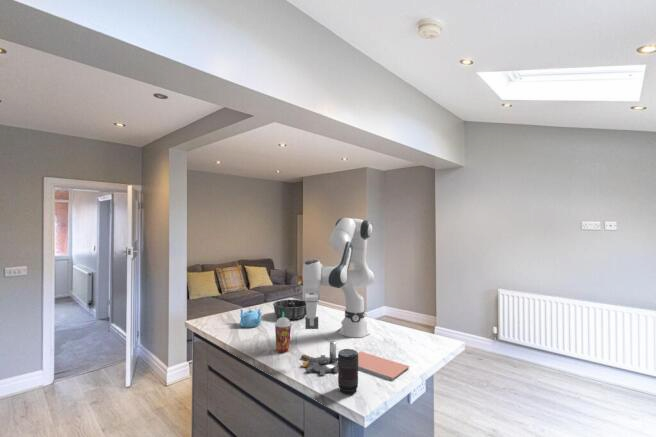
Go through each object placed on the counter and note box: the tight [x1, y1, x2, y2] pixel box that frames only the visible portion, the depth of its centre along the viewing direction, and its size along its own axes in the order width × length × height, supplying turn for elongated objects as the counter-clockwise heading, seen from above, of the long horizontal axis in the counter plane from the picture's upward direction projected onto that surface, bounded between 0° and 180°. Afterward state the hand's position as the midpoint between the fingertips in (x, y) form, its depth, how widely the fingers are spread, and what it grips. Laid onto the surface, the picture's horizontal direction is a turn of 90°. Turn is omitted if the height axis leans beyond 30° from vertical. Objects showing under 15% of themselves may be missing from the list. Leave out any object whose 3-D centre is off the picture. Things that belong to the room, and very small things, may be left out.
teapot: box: [239, 307, 263, 329], centre depth 212 cm, size 15×15×10 cm
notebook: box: [357, 351, 410, 382], centre depth 152 cm, size 27×17×2 cm, turn 50°
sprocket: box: [302, 340, 339, 376], centre depth 151 cm, size 18×18×10 cm
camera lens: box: [337, 348, 359, 396], centre depth 129 cm, size 8×8×15 cm
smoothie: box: [274, 312, 292, 354], centre depth 169 cm, size 8×8×20 cm
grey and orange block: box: [304, 316, 319, 330], centre depth 153 cm, size 3×6×5 cm, turn 91°
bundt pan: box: [272, 299, 307, 321], centre depth 234 cm, size 26×26×10 cm
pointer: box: [300, 353, 311, 362], centre depth 159 cm, size 4×2×2 cm, turn 46°
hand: (312, 324), depth 153 cm, fingers closed on grey and orange block, 3 cm apart
